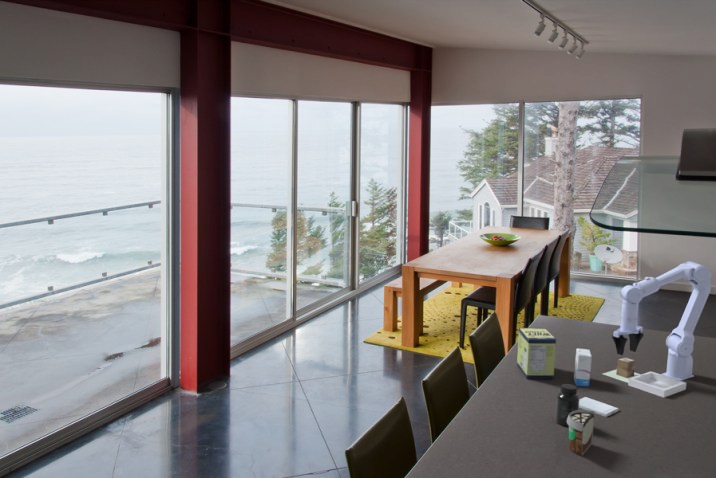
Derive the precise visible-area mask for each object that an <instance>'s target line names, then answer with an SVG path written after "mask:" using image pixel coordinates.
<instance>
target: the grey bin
mask: <svg viewBox="0 0 716 478" xmlns="http://www.w3.org/2000/svg"><path fill="white" fill-rule="evenodd" d="M627 384H628V386H629V387H632V388H635V389H638V390H641V391H643V392H646V393H649V394H653V395H655V396H658V397H661V398H666V397H670V396H672V395H674V394H677V393H680V392H683V391H685V390H687V381H686V382H685V381H684V380H677V379H674V378H671V377H668V376H664V375H662V373H661V374H660V373H657V372H654V371H648V372H645V373H641V375H638V376H635V377H632V378H629V382H628V383H627Z"/></svg>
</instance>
